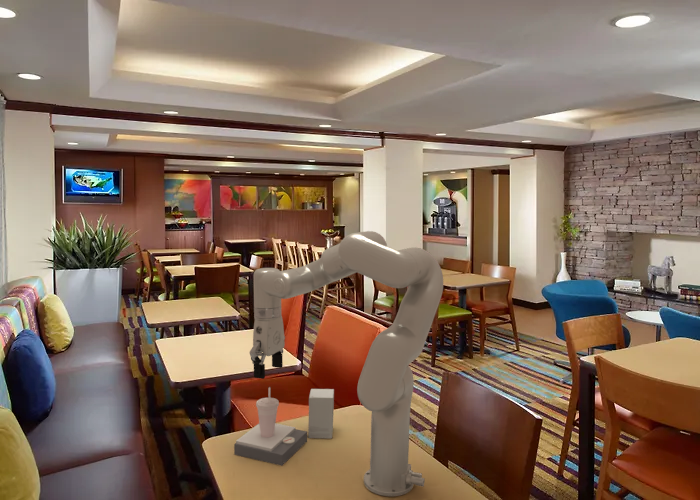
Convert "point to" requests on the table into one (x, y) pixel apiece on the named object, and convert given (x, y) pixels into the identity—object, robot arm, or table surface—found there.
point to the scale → (271, 444)
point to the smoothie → (267, 415)
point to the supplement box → (321, 413)
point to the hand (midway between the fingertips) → (268, 372)
